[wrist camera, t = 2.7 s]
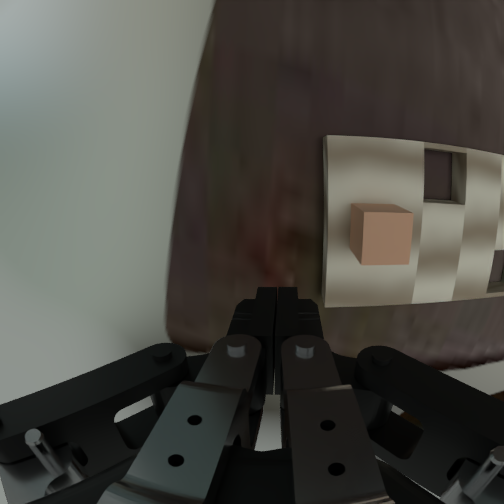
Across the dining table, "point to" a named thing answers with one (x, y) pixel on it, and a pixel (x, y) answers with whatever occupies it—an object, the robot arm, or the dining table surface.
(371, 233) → the block
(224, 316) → the dining table surface
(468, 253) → the checkered shape sorter board
